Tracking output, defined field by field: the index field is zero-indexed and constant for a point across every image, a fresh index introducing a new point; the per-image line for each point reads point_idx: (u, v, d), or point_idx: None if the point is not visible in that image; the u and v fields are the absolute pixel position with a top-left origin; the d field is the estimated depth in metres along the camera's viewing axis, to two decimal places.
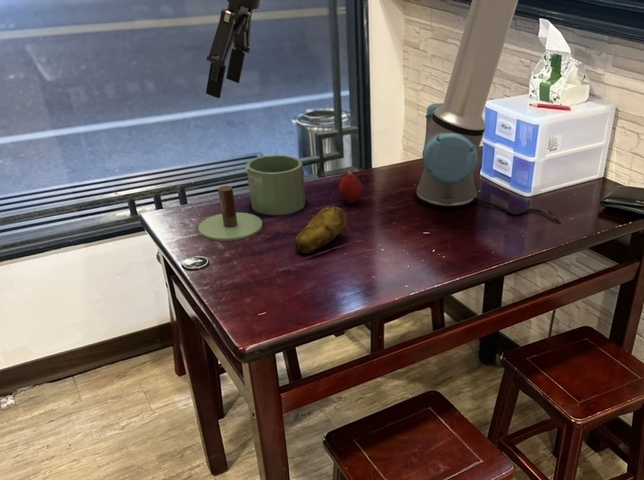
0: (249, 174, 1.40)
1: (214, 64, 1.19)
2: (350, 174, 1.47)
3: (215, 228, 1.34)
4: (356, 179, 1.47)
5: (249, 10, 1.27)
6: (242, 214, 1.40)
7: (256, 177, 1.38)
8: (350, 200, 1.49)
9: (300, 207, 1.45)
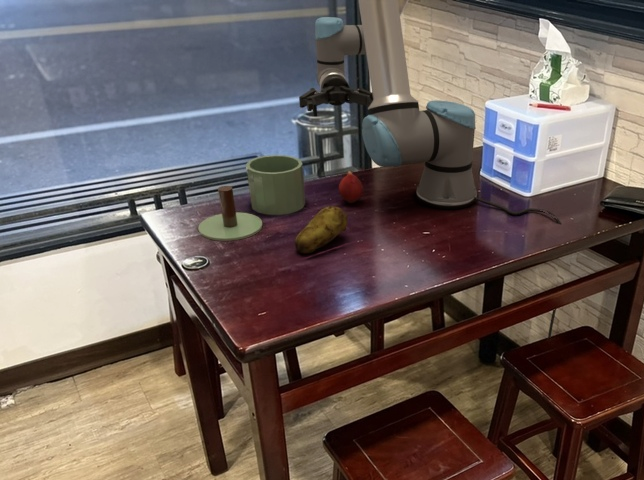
0: (249, 174, 1.40)
1: (306, 104, 1.52)
2: (350, 174, 1.47)
3: (215, 228, 1.34)
4: (356, 179, 1.47)
5: None
6: (242, 214, 1.40)
7: (256, 177, 1.38)
8: (350, 200, 1.49)
9: (300, 207, 1.45)
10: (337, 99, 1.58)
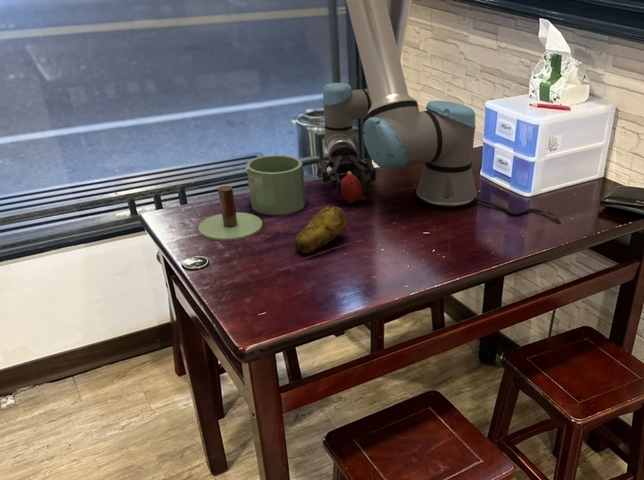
0: (249, 174, 1.40)
1: (329, 179, 1.48)
2: (350, 174, 1.47)
3: (215, 228, 1.34)
4: (356, 179, 1.47)
5: None
6: (242, 214, 1.40)
7: (256, 177, 1.38)
8: (350, 200, 1.49)
9: (300, 207, 1.45)
10: (345, 169, 1.55)
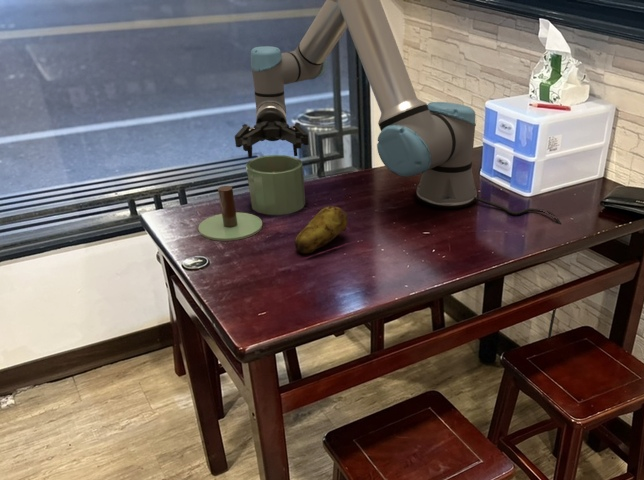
0: (249, 174, 1.40)
1: (242, 144, 1.40)
2: None
3: (215, 228, 1.34)
4: None
5: (294, 125, 1.50)
6: (242, 214, 1.40)
7: (256, 177, 1.38)
8: None
9: (300, 207, 1.45)
10: (271, 135, 1.47)
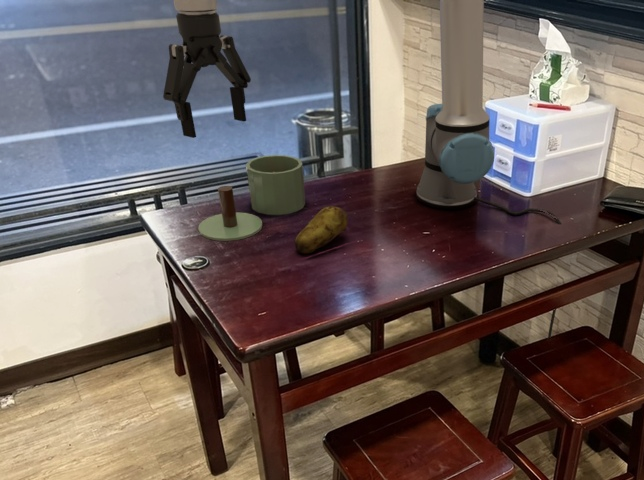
0: (249, 174, 1.40)
1: (175, 103, 1.15)
2: None
3: (215, 228, 1.34)
4: None
5: (228, 42, 1.20)
6: (242, 214, 1.40)
7: (256, 177, 1.38)
8: None
9: (300, 207, 1.45)
10: None
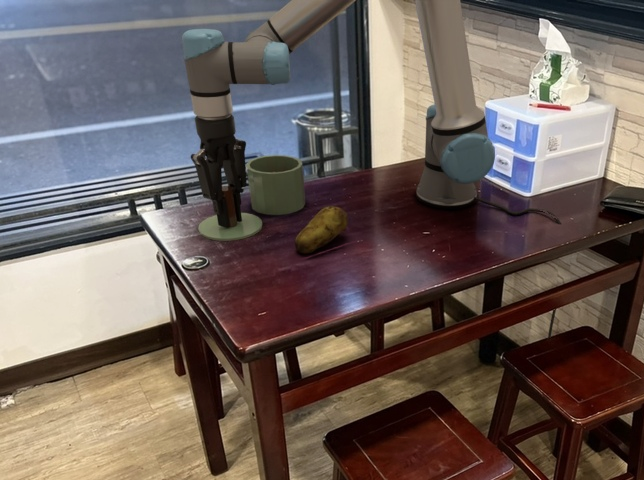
0: (249, 174, 1.40)
1: (212, 200, 1.29)
2: None
3: (215, 228, 1.34)
4: None
5: (240, 144, 1.30)
6: (242, 214, 1.40)
7: (256, 177, 1.38)
8: None
9: (300, 207, 1.45)
10: None
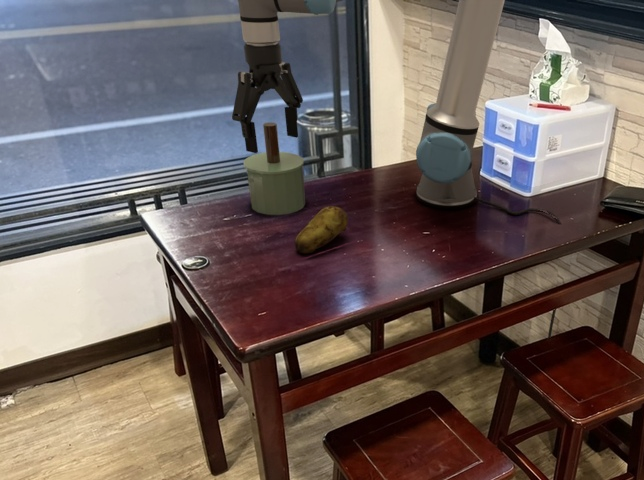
0: (249, 174, 1.40)
1: (241, 122, 1.30)
2: None
3: (259, 164, 1.40)
4: None
5: (285, 68, 1.35)
6: (283, 153, 1.47)
7: (256, 177, 1.38)
8: None
9: (300, 207, 1.45)
10: None
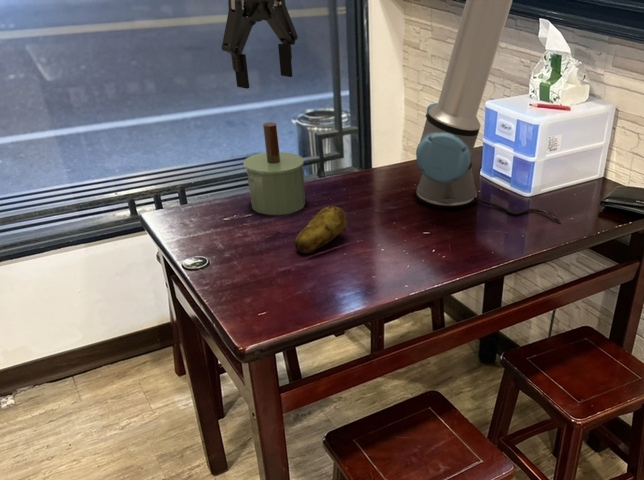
0: (249, 174, 1.40)
1: (231, 54, 1.22)
2: None
3: (259, 164, 1.40)
4: None
5: None
6: (283, 153, 1.47)
7: (256, 177, 1.38)
8: None
9: (300, 207, 1.45)
10: None
